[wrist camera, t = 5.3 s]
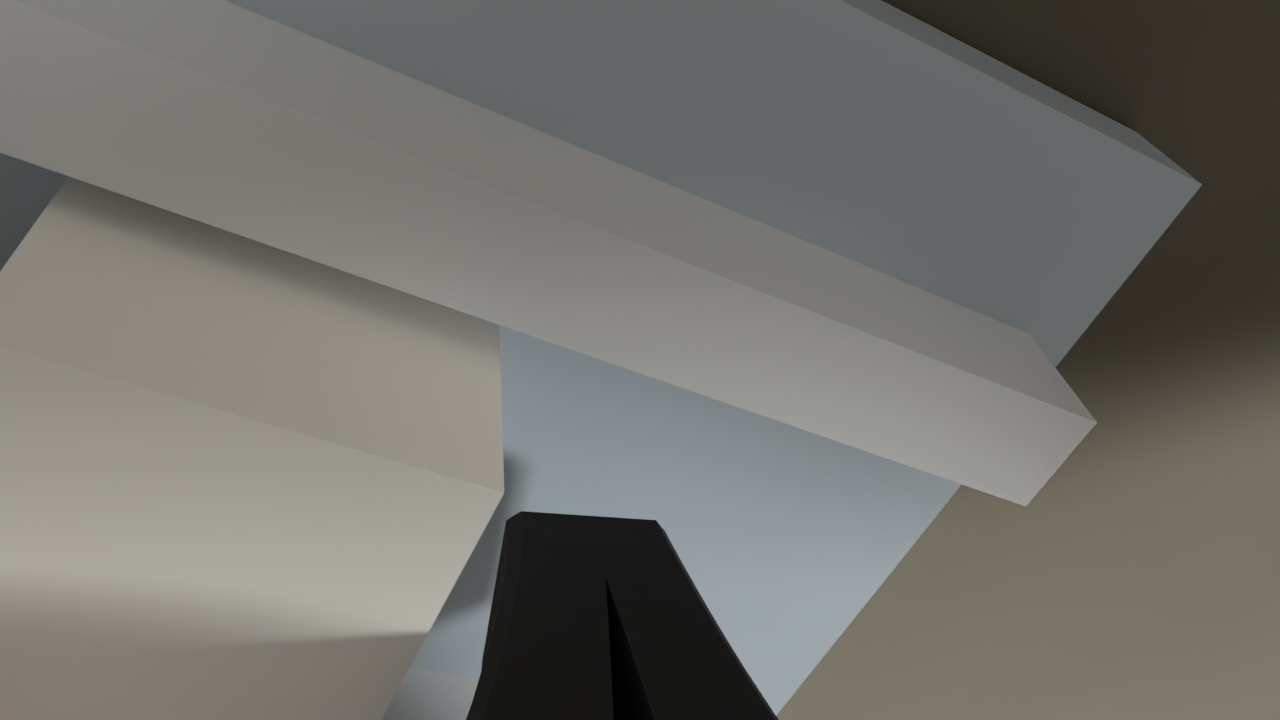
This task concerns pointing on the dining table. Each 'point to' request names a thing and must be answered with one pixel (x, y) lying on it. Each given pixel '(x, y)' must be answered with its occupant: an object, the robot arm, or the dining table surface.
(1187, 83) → the dining table surface
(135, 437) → the gauge sled
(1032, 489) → the gauge bench
